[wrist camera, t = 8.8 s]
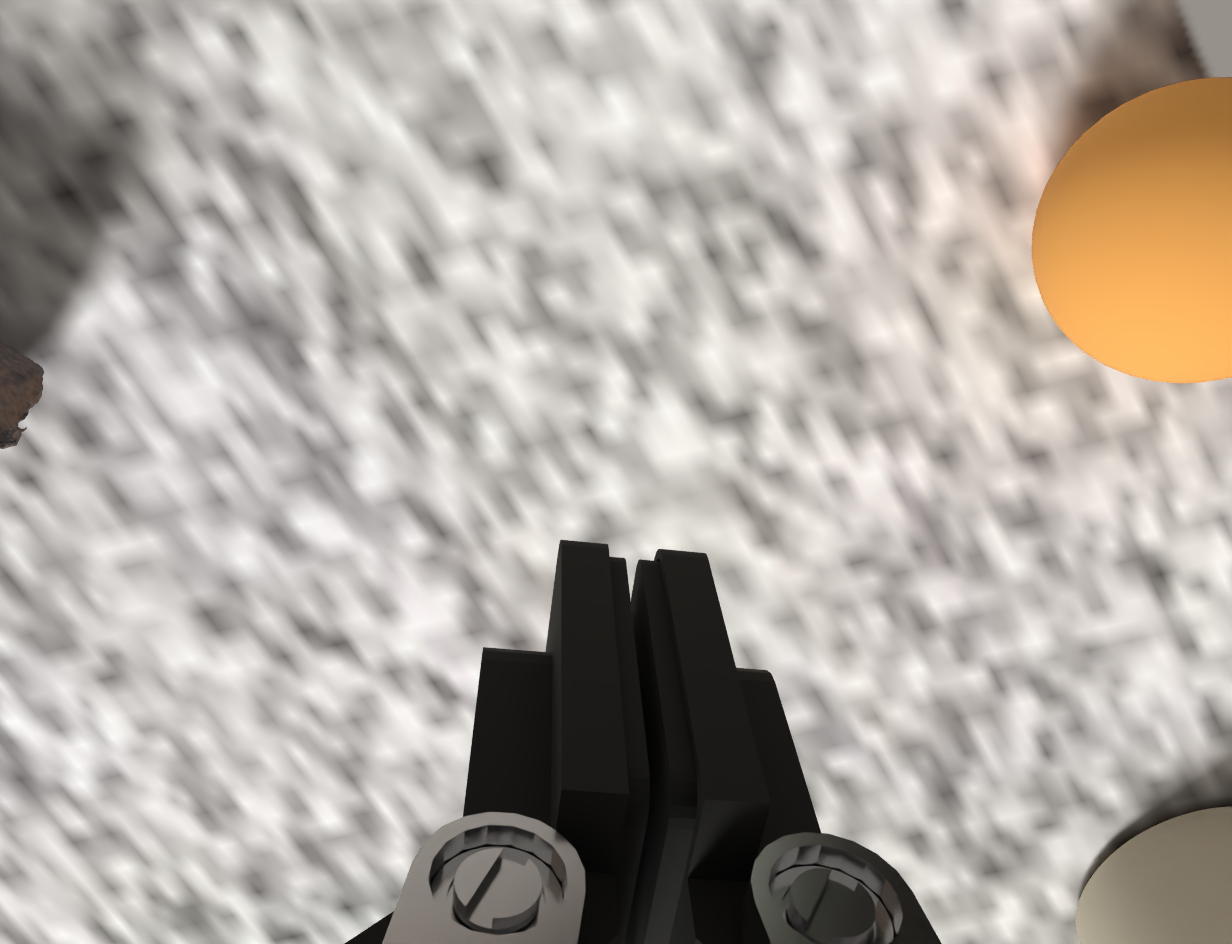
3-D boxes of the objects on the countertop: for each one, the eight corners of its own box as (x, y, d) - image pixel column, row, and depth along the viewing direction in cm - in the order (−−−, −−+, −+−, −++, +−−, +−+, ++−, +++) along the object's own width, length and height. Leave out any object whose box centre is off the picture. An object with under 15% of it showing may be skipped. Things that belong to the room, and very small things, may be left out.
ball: (1369, 311, 22) (1139, 472, 23) (1170, 133, 24) (963, 283, 25) (1529, 163, 17) (1220, 380, 17) (1252, -51, 19) (983, 146, 19)
